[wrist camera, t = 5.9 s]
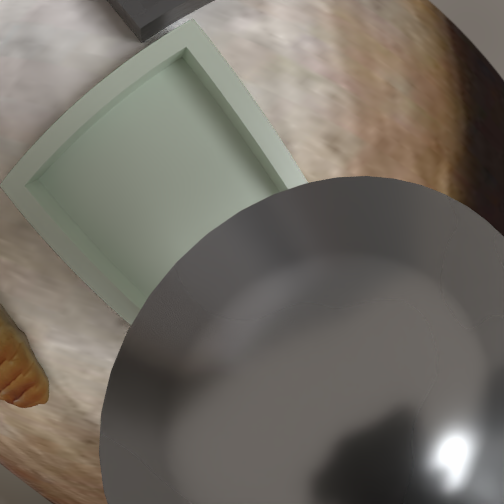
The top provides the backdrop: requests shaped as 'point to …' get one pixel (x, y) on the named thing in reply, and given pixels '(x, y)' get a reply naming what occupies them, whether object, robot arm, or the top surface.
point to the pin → (318, 358)
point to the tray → (149, 167)
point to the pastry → (19, 367)
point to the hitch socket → (153, 14)
